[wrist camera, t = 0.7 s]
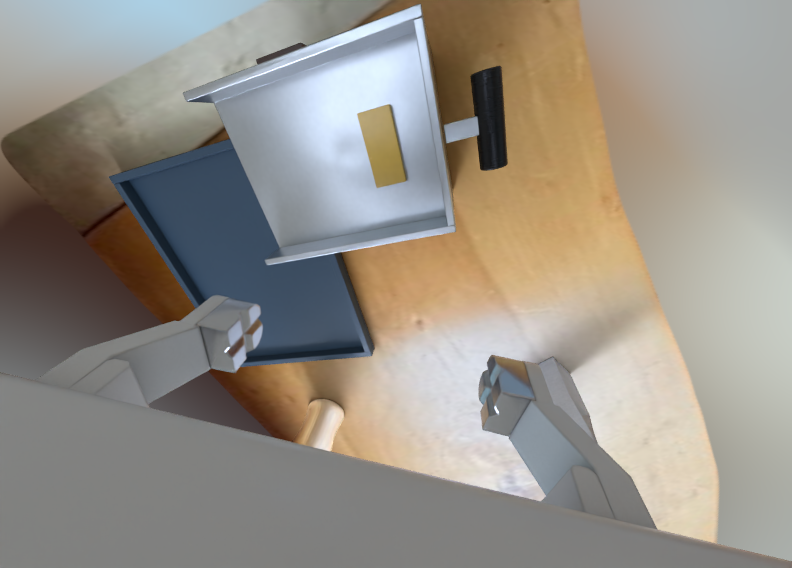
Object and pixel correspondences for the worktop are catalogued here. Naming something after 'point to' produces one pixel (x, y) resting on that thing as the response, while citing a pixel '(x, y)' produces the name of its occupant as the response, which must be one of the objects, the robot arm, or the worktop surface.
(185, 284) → the tray
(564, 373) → the grey boxy piece
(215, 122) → the worktop surface
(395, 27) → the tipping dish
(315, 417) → the silver metal vase
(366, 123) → the yellow block
